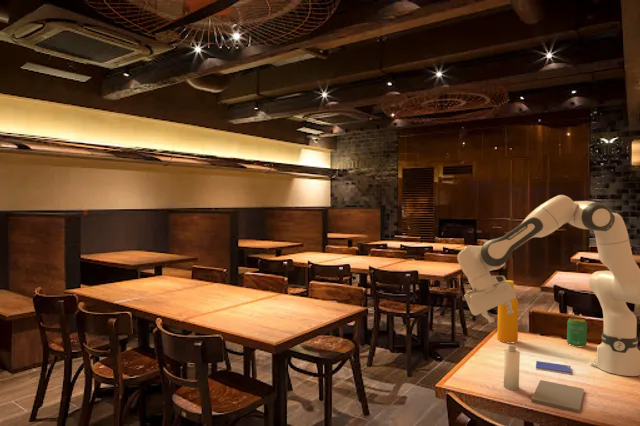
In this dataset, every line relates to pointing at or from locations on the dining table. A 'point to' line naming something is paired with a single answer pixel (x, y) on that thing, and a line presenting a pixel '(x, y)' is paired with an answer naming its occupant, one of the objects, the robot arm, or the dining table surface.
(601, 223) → the robot arm
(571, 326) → the beverage can
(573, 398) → the slate board
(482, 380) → the dining table surface
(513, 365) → the salt mill
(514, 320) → the beer bottle
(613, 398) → the dining table surface
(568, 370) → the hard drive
